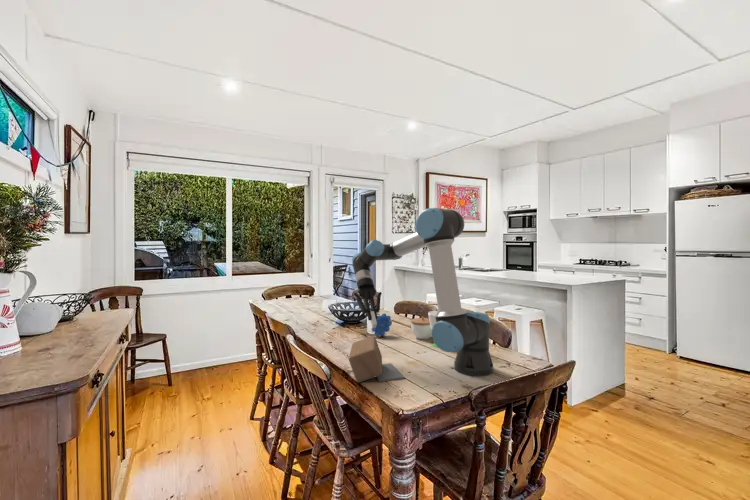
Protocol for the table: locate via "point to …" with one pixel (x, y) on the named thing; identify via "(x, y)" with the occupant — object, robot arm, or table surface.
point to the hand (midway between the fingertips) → (374, 326)
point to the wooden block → (366, 359)
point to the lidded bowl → (421, 328)
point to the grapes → (382, 324)
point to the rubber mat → (389, 373)
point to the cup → (432, 321)
